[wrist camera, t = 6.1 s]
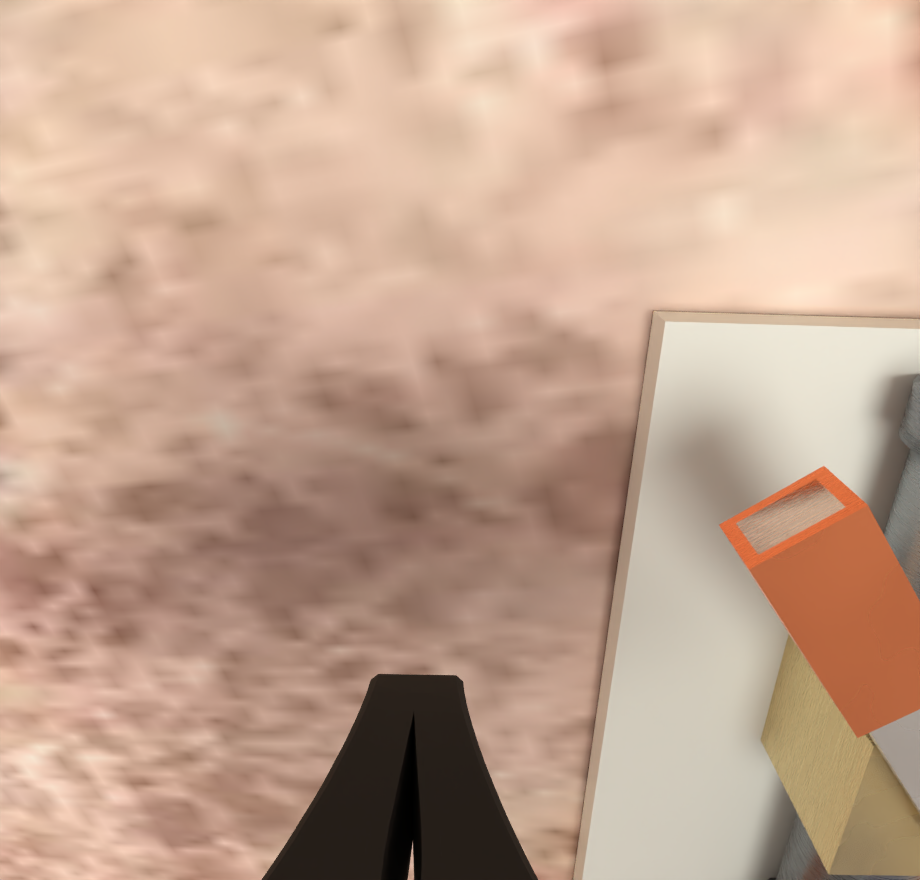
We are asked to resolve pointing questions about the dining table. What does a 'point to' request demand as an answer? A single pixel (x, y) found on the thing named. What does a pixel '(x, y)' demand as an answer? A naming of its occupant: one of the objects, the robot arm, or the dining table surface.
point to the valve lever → (842, 608)
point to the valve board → (722, 578)
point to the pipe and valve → (847, 741)
